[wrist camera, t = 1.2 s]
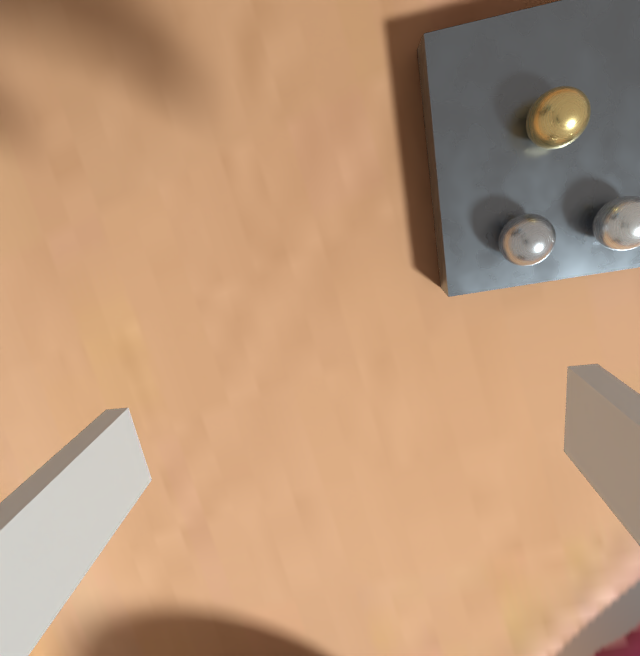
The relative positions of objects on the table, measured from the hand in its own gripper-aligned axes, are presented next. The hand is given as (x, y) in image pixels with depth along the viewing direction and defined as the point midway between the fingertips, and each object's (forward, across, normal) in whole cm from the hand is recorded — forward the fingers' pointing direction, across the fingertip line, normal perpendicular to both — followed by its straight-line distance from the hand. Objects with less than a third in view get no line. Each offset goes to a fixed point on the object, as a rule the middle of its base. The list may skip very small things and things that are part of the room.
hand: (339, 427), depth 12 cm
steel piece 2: (+18, +18, +2) cm, 25 cm away
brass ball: (+18, +14, +9) cm, 24 cm away
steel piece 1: (+18, +12, +2) cm, 22 cm away
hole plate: (+22, +19, +7) cm, 30 cm away
